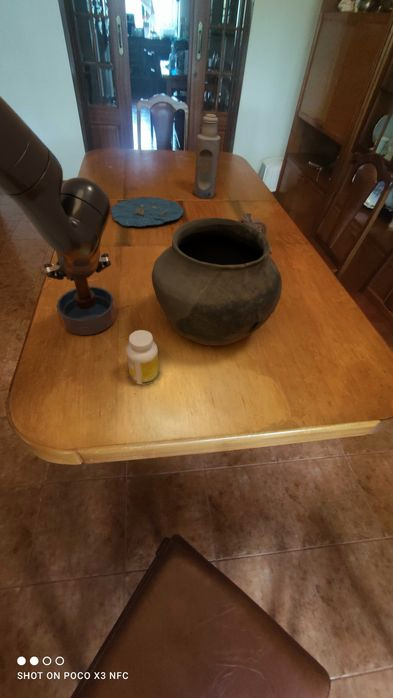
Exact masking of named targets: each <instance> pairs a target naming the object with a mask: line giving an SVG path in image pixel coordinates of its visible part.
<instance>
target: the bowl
mask: <svg viewBox="0 0 393 698" xmlns="http://www.w3.org/2000/svg"><path fill="white" fill-rule="evenodd" d="M89 289H90V290H91V291H93V292H94V294H95V299H96V304H95V306H94V307H92V308H90V309H80V308H78V307H77V305H76V302H75V298H74V295H75V293H76V292H77V291H76V287H75V288H72V289H70V290H68V291H66V292H64V294H62V295H61V296H60V297H59V298H58V300H57V302H56V310H57V313H58V316H59V319H60V323H61V325H62V327H63V328H64V329H65V330H66V331H68V332H70V333H72V334H74V335H78V336H92V335H93V336H94V335H97V334H100V333H102V332H105V331H106V330H107V329H108V328H110V327H111V326H112V325H114V322H115V320H116V319H117V310H116V303H115V298H114V296H113V294H112V293H111V292H110V291H109V290H107V289H105V288H103V287H100V286H94V285H89Z"/></svg>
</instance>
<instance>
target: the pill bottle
mask: <svg viewBox="0 0 393 698" xmlns="http://www.w3.org/2000/svg"><path fill="white" fill-rule="evenodd" d="M125 353H126V360H127V361H126V362H127V367H128V373H129V377H130V379H131V380H132V381H133V382H134V383H136V384H138V385H149V384H152V383H153V382H155V381H156V380H157V378H158V376H159V373H160V371H159V369H160V368H159V350H158V345H157V343H156V342H155V341H154V339H153V334H152V333H151V332H150V331H148V330H145V329H138V330H135V331H132V333H130V334H129V337H128V344H127V345H126V349H125Z"/></svg>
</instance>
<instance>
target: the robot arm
mask: <svg viewBox="0 0 393 698" xmlns="http://www.w3.org/2000/svg"><path fill="white" fill-rule="evenodd" d="M63 171H64V170H63V168H62V164H61V163H60V161H59V159H58V158H57V156H56V155H55V154H54V153H53V152H52V151H51V150H50V148H49V147H48V146H47V145H46V144H45V143H44V142H43V141H42V139H41V138H40V137H39V136H38V135H37V134H36V133H35V131H33V129H32V128H31V127H30V126H29V125H28V124H27V122H25V120H24V119H23V118H22V117H21V116H20V115H19V114H18V113H17V112H16V111H15V110H14V109H13V107H12V106H11V105H10V104H9V103H8V102H7V101H6V100H5V99H4V98H3V97H2V96H1V95H0V191H1V192H2V193H4V194H5V195H7V196H8V197H9V198H10V199H11V200H12V201H13V202H14V203H15V204H16V205H17V206H18V208H19V209H20V210H21V211H22V213H23V214H24V215H25V216H26V218H27V219H28V220H29V221H30V223H31V224H32V225H33V227H34V228H35V230H36V231H37V233H38V234H39V235H40V236H41V238H42V239H43V240H44V242H46V244H47V245H48V246H49V247H51V249H52V250H54V251H55V254H56V258H57V261H56V262H55V264H54V263H44V264H43V267H44V271H45V275H46V277H47V278H49V279H53V280H57V281H58V280H59V281H63V280H64V279H65V278H66V280H67V281H69V280H70V282H74V278H76V279H84V278H87V279H90V277H91V276H92V275H94V274H95V273H97V274H99V273H101V272H102V271H104V270H105V269H108V268H109V267H110V266H112V262H111V259H110V256H109V253H107V252H105V253H103V254H101V242H102V238H103V234H104V232H105V230H106V227H107V224H108V222H109V220H110V217H111V215H112V212H111V211H112V205H111V201H110V198H109V196H108V194H107V192H106V191H105V190H104V189H103V187H101V186H100V185H99V184H98V183H97V182H95V181H93V180H92V179H89V178H86V177H81V176H76V177H71V178H69V179H67V180H65V181H64V172H63ZM63 181H64V182H63Z"/></svg>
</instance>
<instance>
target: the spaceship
mask: <svg viewBox="0 0 393 698" xmlns="http://www.w3.org/2000/svg"><path fill="white" fill-rule="evenodd" d="M252 215H253V214H252V213H251V212H250V213H249V212H247V213H243V214H242V215H241V219H242V223H244V224H247V225H250V226H252V227H254V228H256V229H258V230H259V231H260V232H261V233H263V234H264V235H265V236H266V235H267V233H268V227H267V224H265V222H264V221H261V220H260V219H259V218H254V219H252V217H253V216H252ZM260 228H261V229H260ZM266 237H267V236H266ZM269 246H270V252H269V254H268V255H273V249H272V246H271V245H270V244H269Z"/></svg>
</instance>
